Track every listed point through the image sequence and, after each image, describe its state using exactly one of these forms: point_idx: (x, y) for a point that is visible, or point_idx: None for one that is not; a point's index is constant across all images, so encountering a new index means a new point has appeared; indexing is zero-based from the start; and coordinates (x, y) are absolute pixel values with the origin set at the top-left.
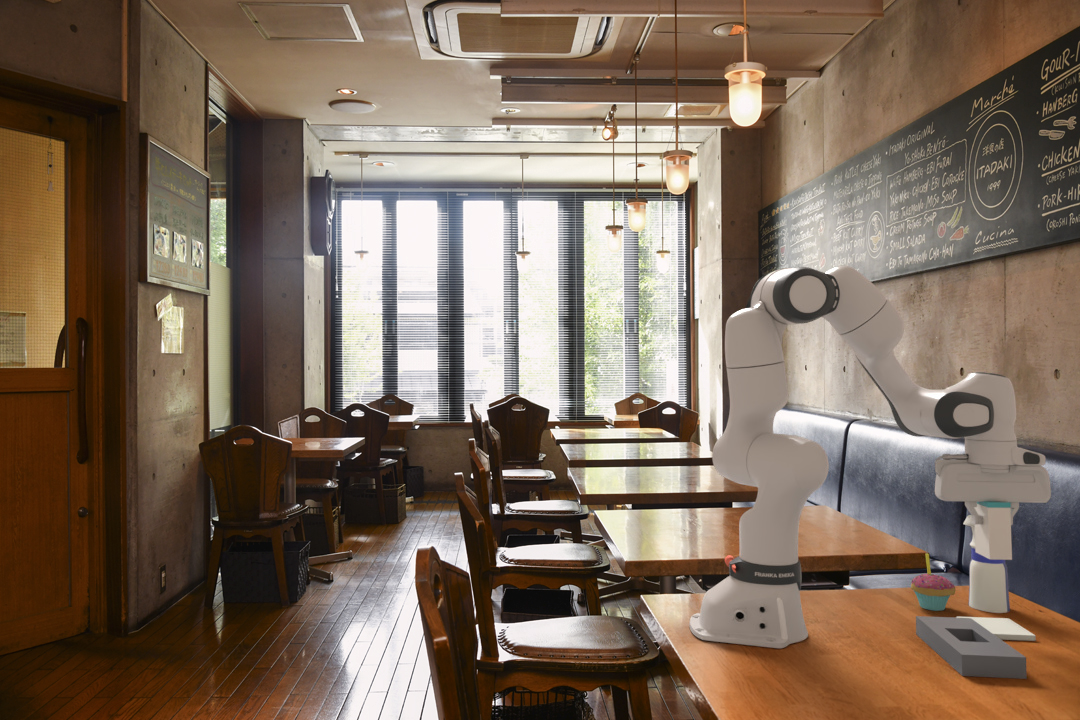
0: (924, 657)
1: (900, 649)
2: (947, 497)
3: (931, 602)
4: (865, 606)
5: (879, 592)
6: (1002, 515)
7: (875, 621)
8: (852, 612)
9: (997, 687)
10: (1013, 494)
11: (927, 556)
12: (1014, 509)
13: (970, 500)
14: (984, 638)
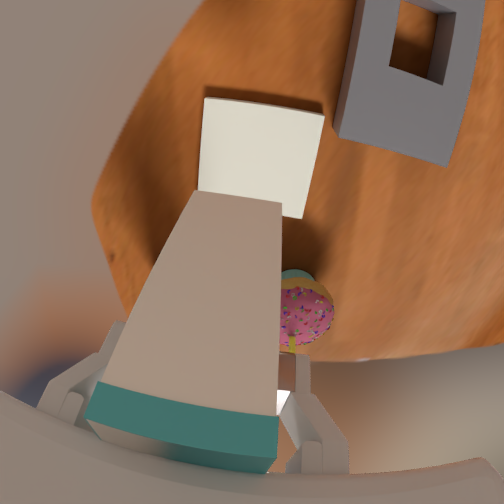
0: (485, 50)
1: (499, 93)
2: (486, 473)
3: (310, 279)
4: (406, 295)
5: (330, 348)
6: (174, 346)
7: (448, 227)
8: (448, 270)
9: None
10: (42, 465)
11: None
12: (74, 382)
13: (365, 478)
14: (398, 10)
